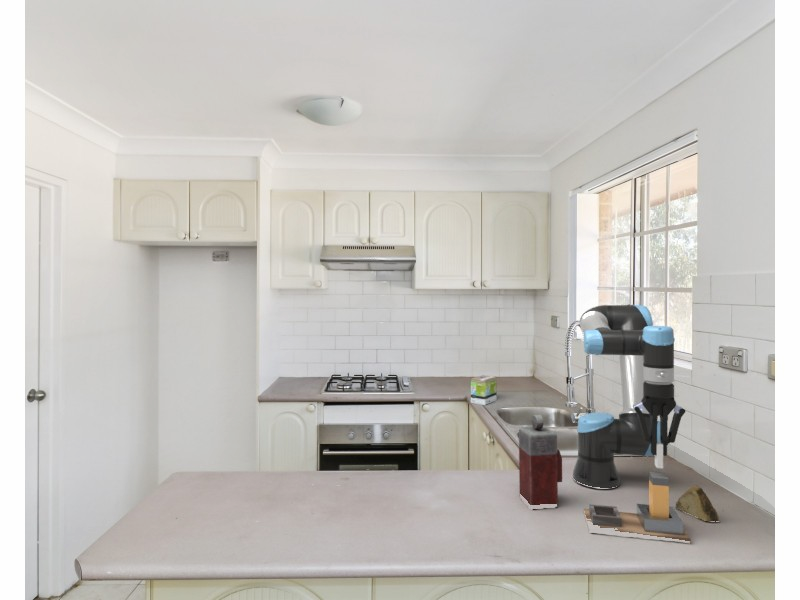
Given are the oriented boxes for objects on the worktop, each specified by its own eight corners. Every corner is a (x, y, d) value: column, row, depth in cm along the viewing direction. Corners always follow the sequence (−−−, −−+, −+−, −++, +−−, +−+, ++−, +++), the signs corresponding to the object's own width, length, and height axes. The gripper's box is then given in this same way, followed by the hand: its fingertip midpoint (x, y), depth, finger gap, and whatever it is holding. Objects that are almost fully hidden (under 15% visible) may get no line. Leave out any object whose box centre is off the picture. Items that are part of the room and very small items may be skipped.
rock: (664, 500, 146) (682, 510, 136) (679, 476, 147) (698, 485, 137) (694, 521, 145) (715, 534, 136) (709, 498, 146) (731, 509, 136)
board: (583, 513, 143) (583, 500, 143) (676, 522, 137) (676, 508, 137) (589, 533, 132) (589, 519, 132) (690, 544, 125) (690, 529, 125)
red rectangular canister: (565, 507, 148) (564, 417, 147) (530, 510, 146) (529, 419, 145) (551, 494, 156) (550, 410, 156) (519, 497, 155) (518, 412, 154)
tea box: (485, 405, 275) (485, 380, 274) (470, 403, 281) (469, 378, 280) (497, 400, 287) (496, 376, 286) (482, 398, 293) (481, 374, 292)
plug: (649, 520, 135) (648, 472, 135) (664, 522, 134) (664, 473, 134) (652, 527, 131) (652, 477, 131) (668, 529, 130) (668, 478, 130)
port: (636, 515, 138) (636, 503, 138) (672, 518, 136) (672, 506, 136) (644, 531, 129) (644, 518, 129) (683, 535, 127) (683, 522, 127)
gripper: (635, 383, 130) (636, 469, 130) (689, 385, 126) (689, 473, 127) (629, 378, 137) (630, 460, 137) (680, 380, 134) (680, 463, 134)
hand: (658, 466), depth 132 cm, fingers closed
